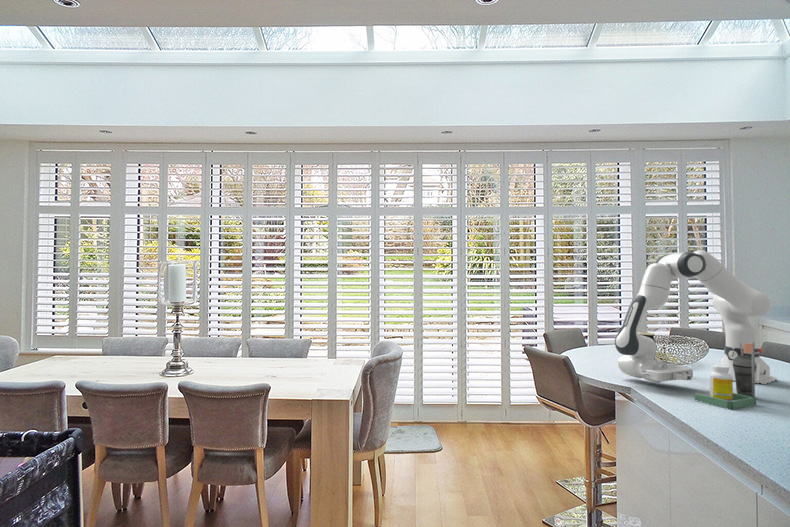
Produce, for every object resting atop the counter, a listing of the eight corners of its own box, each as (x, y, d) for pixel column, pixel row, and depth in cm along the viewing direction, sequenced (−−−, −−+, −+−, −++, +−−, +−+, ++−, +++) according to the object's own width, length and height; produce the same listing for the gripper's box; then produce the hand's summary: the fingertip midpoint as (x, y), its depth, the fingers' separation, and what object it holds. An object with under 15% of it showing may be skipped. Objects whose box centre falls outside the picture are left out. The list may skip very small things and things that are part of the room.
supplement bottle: (736, 405, 162) (736, 368, 162) (715, 404, 163) (715, 367, 163) (726, 400, 168) (726, 364, 169) (706, 399, 170) (706, 363, 170)
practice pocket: (720, 396, 173) (719, 337, 174) (756, 405, 162) (755, 342, 163) (695, 400, 167) (694, 339, 168) (730, 409, 156) (730, 344, 157)
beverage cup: (750, 400, 169) (750, 345, 169) (728, 395, 175) (728, 342, 176) (760, 397, 172) (760, 343, 172) (739, 393, 178) (738, 341, 179)
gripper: (638, 364, 185) (670, 371, 173) (672, 361, 194) (705, 367, 181) (638, 380, 185) (670, 388, 172) (672, 376, 193) (705, 384, 181)
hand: (689, 377), depth 177 cm, fingers closed
